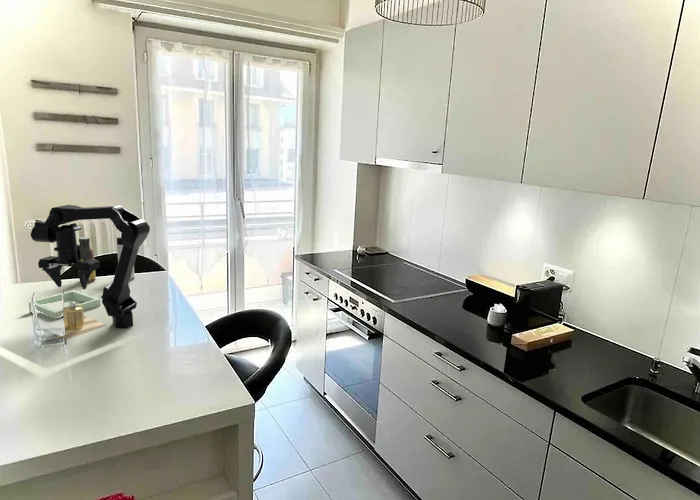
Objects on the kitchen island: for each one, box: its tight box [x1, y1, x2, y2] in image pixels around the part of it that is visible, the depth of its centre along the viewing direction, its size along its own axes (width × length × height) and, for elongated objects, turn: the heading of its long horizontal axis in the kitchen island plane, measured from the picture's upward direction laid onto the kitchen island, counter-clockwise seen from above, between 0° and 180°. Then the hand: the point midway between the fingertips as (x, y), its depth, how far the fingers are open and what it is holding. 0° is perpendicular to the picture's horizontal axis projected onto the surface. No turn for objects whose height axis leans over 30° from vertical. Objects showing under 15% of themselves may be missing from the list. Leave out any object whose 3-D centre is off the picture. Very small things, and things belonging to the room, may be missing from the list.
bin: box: [27, 289, 102, 319], centre depth 166 cm, size 16×16×4 cm
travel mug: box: [116, 237, 136, 282], centre depth 202 cm, size 6×7×20 cm
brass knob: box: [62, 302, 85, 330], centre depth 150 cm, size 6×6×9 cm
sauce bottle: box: [78, 236, 97, 284], centre depth 196 cm, size 6×6×20 cm
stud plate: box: [57, 315, 108, 341], centre depth 151 cm, size 14×14×6 cm
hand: (72, 287), depth 154 cm, fingers open, 9 cm apart
